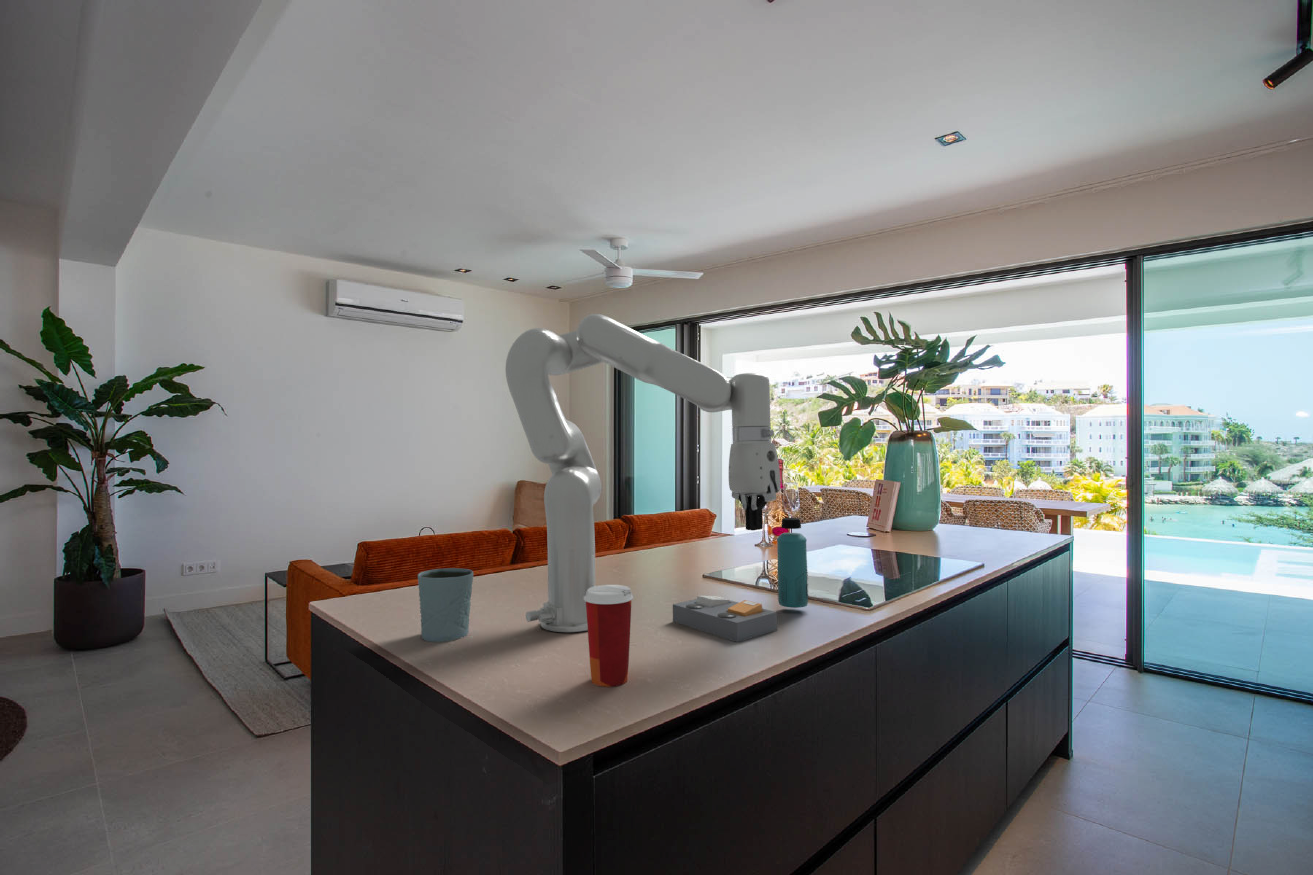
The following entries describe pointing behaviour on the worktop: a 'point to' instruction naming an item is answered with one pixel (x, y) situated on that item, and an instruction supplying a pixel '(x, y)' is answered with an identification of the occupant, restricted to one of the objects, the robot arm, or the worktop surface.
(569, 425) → the robot arm
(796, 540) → the beverage bottle
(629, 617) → the paper cup
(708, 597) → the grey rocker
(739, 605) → the labelled cardboard parcel
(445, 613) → the grey-blue cup
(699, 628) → the grey switch box
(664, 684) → the worktop surface
